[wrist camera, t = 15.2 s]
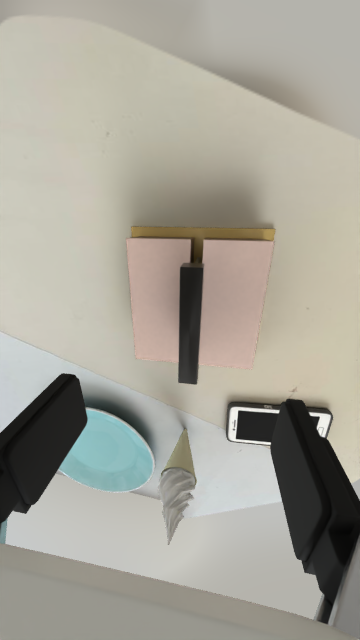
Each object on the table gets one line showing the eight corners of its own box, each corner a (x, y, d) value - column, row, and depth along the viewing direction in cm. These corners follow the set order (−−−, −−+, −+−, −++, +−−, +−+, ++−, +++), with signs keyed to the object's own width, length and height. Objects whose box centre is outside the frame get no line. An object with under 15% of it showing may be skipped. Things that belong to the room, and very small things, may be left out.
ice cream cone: (184, 413, 36) (167, 527, 22) (206, 431, 37) (201, 551, 23) (165, 427, 38) (137, 540, 24) (185, 444, 39) (171, 561, 25)
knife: (191, 252, 25) (179, 266, 17) (207, 253, 25) (203, 267, 16) (188, 336, 30) (178, 382, 21) (201, 337, 30) (196, 384, 21)
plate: (58, 468, 48) (49, 481, 45) (36, 387, 39) (23, 399, 36) (157, 486, 45) (154, 502, 43) (158, 405, 36) (154, 419, 34)
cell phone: (320, 445, 35) (323, 451, 34) (225, 436, 37) (226, 441, 36) (331, 408, 31) (335, 413, 31) (228, 400, 34) (228, 405, 33)
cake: (132, 226, 26) (115, 226, 21) (274, 228, 24) (288, 229, 19) (140, 345, 32) (128, 364, 27) (252, 354, 30) (259, 377, 26)
